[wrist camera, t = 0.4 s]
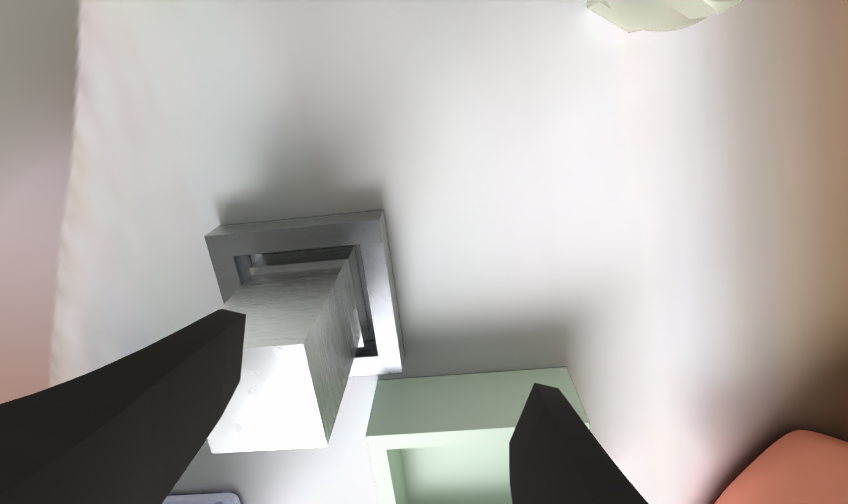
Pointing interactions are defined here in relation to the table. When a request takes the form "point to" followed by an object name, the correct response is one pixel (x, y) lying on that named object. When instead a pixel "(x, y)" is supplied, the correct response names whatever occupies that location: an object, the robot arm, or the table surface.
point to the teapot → (794, 473)
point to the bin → (452, 434)
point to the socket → (361, 228)
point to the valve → (657, 13)
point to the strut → (293, 350)
